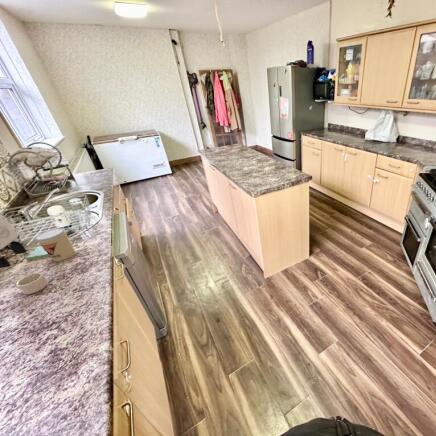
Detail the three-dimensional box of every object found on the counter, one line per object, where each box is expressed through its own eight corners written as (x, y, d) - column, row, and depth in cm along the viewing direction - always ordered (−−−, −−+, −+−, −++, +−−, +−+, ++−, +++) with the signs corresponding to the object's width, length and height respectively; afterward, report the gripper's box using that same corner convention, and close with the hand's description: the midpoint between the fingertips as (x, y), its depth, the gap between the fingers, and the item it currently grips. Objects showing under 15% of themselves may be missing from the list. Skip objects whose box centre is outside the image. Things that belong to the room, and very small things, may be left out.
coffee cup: (45, 262, 101) (28, 239, 96) (65, 249, 110) (51, 227, 104) (63, 263, 100) (48, 240, 94) (83, 249, 108) (69, 228, 102)
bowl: (18, 297, 84) (10, 288, 82) (31, 283, 90) (24, 275, 88) (41, 292, 86) (34, 283, 83) (52, 279, 91) (46, 270, 89)
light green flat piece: (27, 260, 103) (23, 255, 102) (41, 247, 112) (38, 242, 110) (58, 254, 106) (54, 249, 104) (70, 242, 114) (66, 237, 113)
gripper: (-33, 226, 66) (8, 273, 74) (12, 202, 80) (42, 243, 89) (-67, 231, 64) (-22, 279, 73) (-15, 205, 79) (18, 247, 87)
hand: (13, 259), depth 81 cm, fingers open, 7 cm apart
